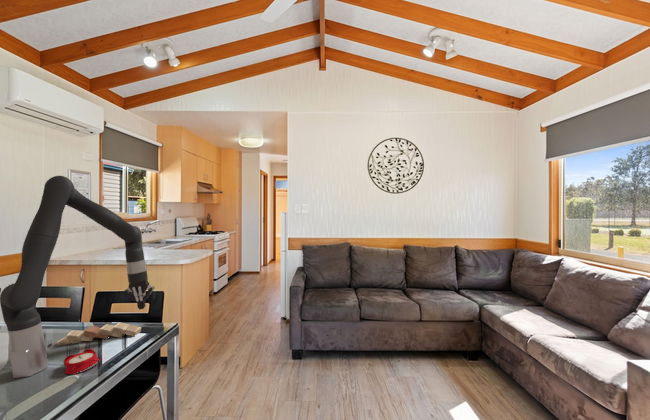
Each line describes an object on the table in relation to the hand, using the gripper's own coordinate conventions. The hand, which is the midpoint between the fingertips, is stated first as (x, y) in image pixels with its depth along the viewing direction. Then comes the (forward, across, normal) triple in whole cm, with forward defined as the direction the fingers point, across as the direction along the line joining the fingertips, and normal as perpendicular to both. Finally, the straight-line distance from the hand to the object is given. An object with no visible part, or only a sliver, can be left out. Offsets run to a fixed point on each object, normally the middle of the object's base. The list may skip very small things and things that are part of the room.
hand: (141, 308), depth 148 cm
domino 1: (+11, -27, 0) cm, 29 cm away
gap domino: (+10, -15, 0) cm, 19 cm away
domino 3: (+10, -9, 0) cm, 14 cm away
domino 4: (+10, -3, 0) cm, 11 cm away
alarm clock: (+12, -12, -24) cm, 29 cm away
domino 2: (+10, -22, 0) cm, 24 cm away
